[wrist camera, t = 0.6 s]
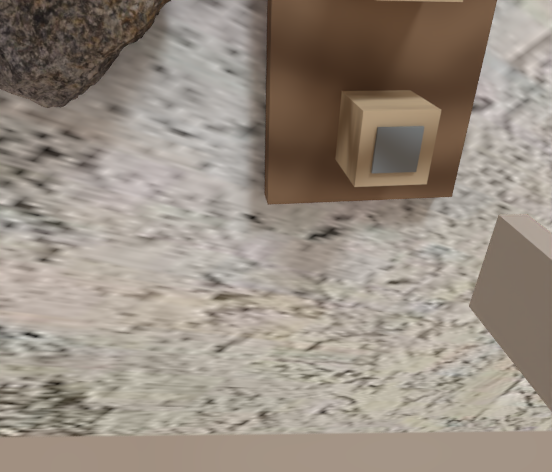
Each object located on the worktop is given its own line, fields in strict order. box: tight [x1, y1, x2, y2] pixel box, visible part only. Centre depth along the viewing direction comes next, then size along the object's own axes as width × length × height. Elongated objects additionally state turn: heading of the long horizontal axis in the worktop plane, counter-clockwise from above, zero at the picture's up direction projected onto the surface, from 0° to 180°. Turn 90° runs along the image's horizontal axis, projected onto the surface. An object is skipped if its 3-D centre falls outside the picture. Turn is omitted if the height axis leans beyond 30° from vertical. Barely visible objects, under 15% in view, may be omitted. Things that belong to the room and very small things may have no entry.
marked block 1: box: [335, 90, 441, 187], centre depth 33 cm, size 5×5×5 cm
